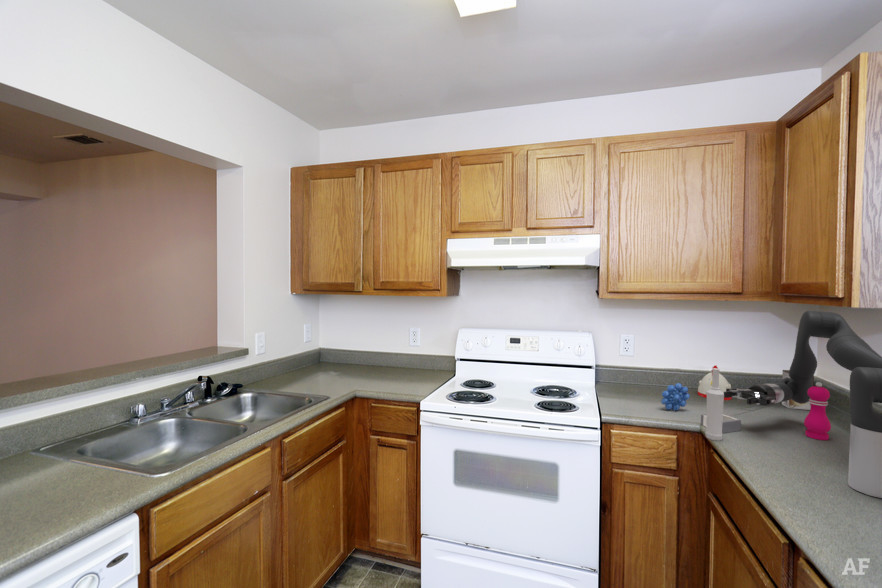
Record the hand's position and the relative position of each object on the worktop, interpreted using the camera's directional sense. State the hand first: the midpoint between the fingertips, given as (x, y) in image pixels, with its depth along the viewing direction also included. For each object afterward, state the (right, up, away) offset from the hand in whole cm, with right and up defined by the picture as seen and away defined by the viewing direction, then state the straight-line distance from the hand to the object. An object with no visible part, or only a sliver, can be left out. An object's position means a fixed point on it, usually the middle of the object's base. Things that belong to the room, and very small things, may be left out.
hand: (735, 398), depth 149 cm
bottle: (-10, -14, -3) cm, 17 cm away
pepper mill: (+28, -14, -1) cm, 31 cm away
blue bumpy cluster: (-6, -13, +29) cm, 32 cm away
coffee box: (+51, -13, +33) cm, 62 cm away
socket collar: (-1, -13, +7) cm, 15 cm away
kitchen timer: (+26, -12, +50) cm, 58 cm away
